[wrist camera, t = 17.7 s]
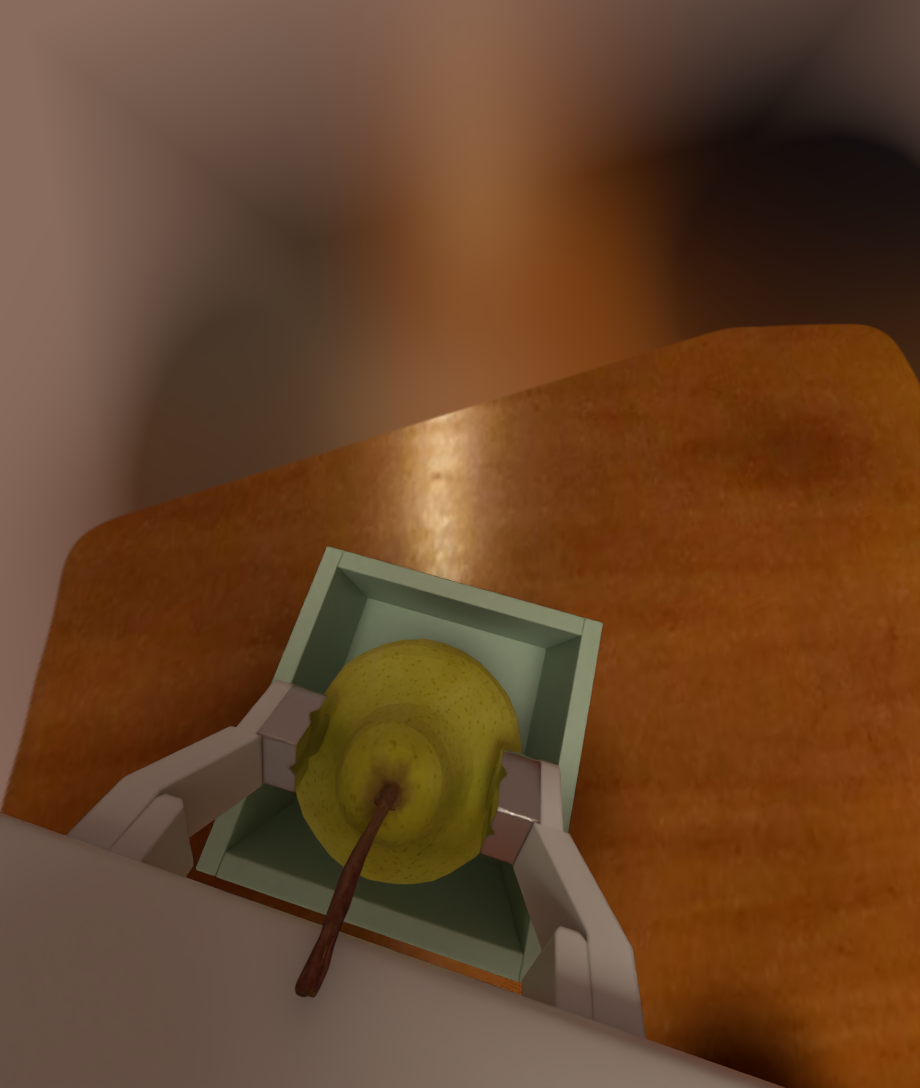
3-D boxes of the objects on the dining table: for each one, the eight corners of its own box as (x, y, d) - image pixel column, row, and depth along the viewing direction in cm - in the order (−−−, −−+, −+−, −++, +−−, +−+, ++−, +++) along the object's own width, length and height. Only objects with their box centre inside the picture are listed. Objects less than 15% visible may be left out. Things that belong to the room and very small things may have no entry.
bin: (280, 807, 22) (194, 870, 15) (362, 585, 26) (326, 545, 18) (510, 883, 21) (542, 991, 14) (558, 640, 25) (603, 622, 18)
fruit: (394, 619, 18) (307, 514, 7) (532, 698, 17) (690, 725, 6) (301, 772, 16) (-34, 976, 5) (452, 871, 15) (466, 1400, 4)
